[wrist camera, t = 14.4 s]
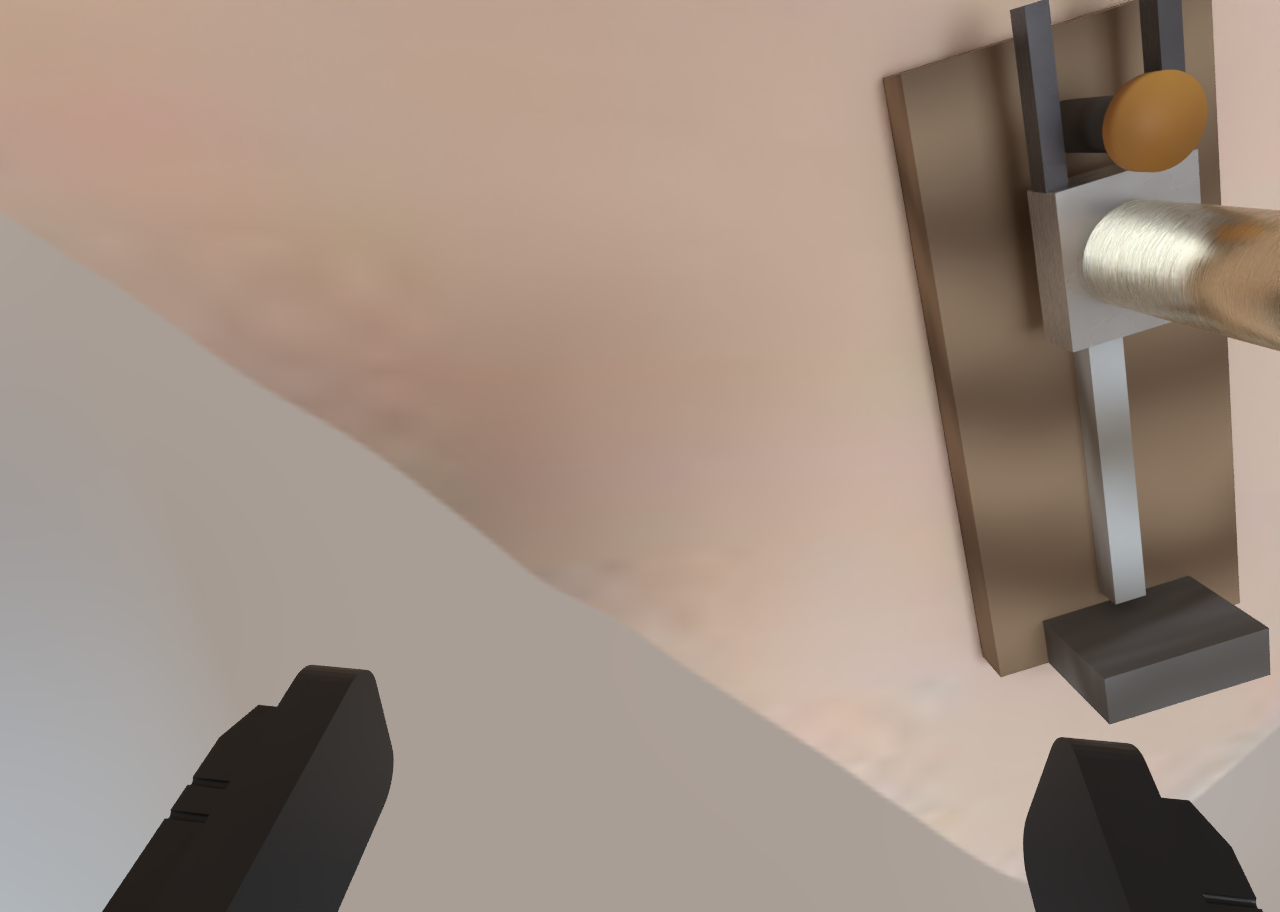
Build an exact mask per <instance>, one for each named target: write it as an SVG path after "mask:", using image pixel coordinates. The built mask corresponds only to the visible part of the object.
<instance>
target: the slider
mask: <svg viewBox="0 0 1280 912" xmlns="http://www.w3.org/2000/svg"><path fill="white" fill-rule="evenodd" d="M1139 10H1140V24H1141V37H1142V51H1143V64H1144V73H1148V72H1154V71H1161V70H1179V71H1183V72H1185V73H1186V69H1185V52H1184V35H1183V17H1182V0H1139ZM1010 14H1011V23H1012V31H1013V39H1014V47H1015V55H1016V64H1017V72H1018V80H1019V88H1020V97H1021V105H1022V113H1023V121H1024V129H1025V138H1026V146H1027V154H1028V162H1029V170H1030V179H1031V187H1032V189H1031V190H1028V191H1027V196H1028V204H1029V212H1030V220H1031V228H1032V236H1033V244H1034V252H1035V260H1036V268H1037V277H1038V285H1039V293H1040V301H1041V309H1042V317H1043V325H1044V333H1045V341H1046V342H1047V343H1050V344H1052V345H1055V346H1057V347H1060V348H1063V349H1065V350H1068V351H1071V352H1076V351H1080V350H1083V349H1086V348H1089V347H1092V346H1096V345H1099V344H1102V343H1105V342H1109V341H1112V340H1115V339H1118V338H1121V337H1125V336H1128V335H1131V334H1134V333H1138V332H1141V331H1144V330H1147V329H1150V328H1154V327H1157V326H1160V325H1163V324H1167V323H1170V322H1175V323H1179V324H1182V325H1186V326H1189V327H1193V328H1197V329H1200V330H1204V331H1208V332H1211V333H1215V334H1219V335H1222V336H1226V337H1230V338H1233V339H1237V340H1241V341H1244V342H1248V343H1251V344H1255V345H1259V346H1262V347H1266V348H1270V349H1273V350H1277V351H1280V210H1269V209H1257V208H1245V207H1232V206H1220V205H1208V204H1201V196H1200V178H1199V159H1198V149H1194V150H1193V151H1192V152H1191V154H1190V155H1189V156H1188V157H1187V158H1186V159H1184V160H1183V161H1182V162H1181V163H1179V164H1178V165H1176V166H1174V167H1172V168H1170V169H1168V170H1165V171H1161V172H1133V171H1128V170H1125V169H1123V168H1121V167H1119V166H1118V165H1117V164H1112V165H1109V166H1105V167H1102V168H1099V169H1096V170H1093V171H1089V172H1086V173H1083V174H1080V175H1076V176H1073V177H1070V178H1068V176H1067V167H1066V157H1065V148H1064V139H1063V129H1062V120H1061V111H1060V101H1059V92H1058V83H1057V73H1056V64H1055V55H1054V45H1053V36H1052V27H1051V17H1050V8H1049V0H1042V1H1038V2H1035V3H1032V4H1029V5H1025V6H1022V7H1019V8H1016V9H1013V10H1010Z"/></svg>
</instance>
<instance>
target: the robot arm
mask: <svg viewBox="0 0 1280 912" xmlns="http://www.w3.org/2000/svg"><path fill="white" fill-rule="evenodd" d="M392 773H393V750H392V745H391V741H390V737H389V733H388V729H387V725H386V721H385V717H384V713H383V709H382V704H381V700H380V697H379V692H378V688H377V684H376V680H375V677H374V675H373V674H372V673H371V672H370V671H368V670H361V669H350V668H340V667H329V666H318V665H309V666H306V667H305V668H303V669H302V670H301V671H300V672H299V673H298V675H297V676H296V678H295V679H294V681H293V682H292V684H291V685H290V687H289V689H288V690H287V692H286V693H285V695H284V697H283V698H282V700H281V702H280V703H279V705H278V706H277V707H273V706H264V705H258V706H257V707H255V709H253V710H252V711H251V712H249V713H248V714H247V715H246V716H245V717H243V718H242V719H241V720H240V721H239V722H237V723H236V724H235V725H234V726H233V727H231V728H230V729H229V730H228V731H227V732H225V733H224V734H223V735H222V736H221V737H219V739H218V740H217V742H216V744H215V745H214V746H213V748H212V749H211V751H210V752H209V754H208V755H207V757H206V758H205V760H204V761H203V763H202V764H201V766H200V767H199V769H198V770H197V772H196V773H195V775H194V776H193V782H192V784H191V785H187V786H186V788H185V790H184V791H183V792H182V794H181V795H180V797H179V798H178V800H177V801H176V803H175V804H174V806H173V807H172V809H171V815H170V817H169V818H168V819H164V821H163V822H162V824H161V825H160V827H159V828H158V830H157V831H156V833H155V834H154V836H153V837H152V838H151V840H150V842H149V843H148V844H147V846H146V847H145V849H144V850H143V852H142V853H141V855H140V856H139V858H138V859H137V861H136V862H135V864H134V865H133V867H132V868H131V870H130V872H129V873H128V874H127V876H126V877H125V879H124V880H123V882H122V883H121V885H120V886H119V888H118V889H117V891H116V892H115V894H114V895H113V897H112V898H111V899H110V901H109V902H108V904H107V906H106V907H105V909H104V910H103V911H102V912H338V910H339V907H340V905H341V903H342V900H343V898H344V896H345V893H346V891H347V889H348V887H349V884H350V882H351V880H352V878H353V875H354V873H355V871H356V869H357V866H358V864H359V862H360V859H361V857H362V855H363V853H364V850H365V848H366V846H367V843H368V841H369V839H370V837H371V834H372V832H373V829H374V827H375V825H376V823H377V821H378V818H379V816H380V814H381V811H382V809H383V807H384V804H385V802H386V799H387V796H388V793H389V789H390V785H391V780H392ZM1023 852H1024V864H1025V870H1026V876H1027V880H1028V884H1029V888H1030V891H1031V895H1032V899H1033V903H1034V907H1035V910H1036V912H1263V911H1262V909H1258V908H1257V906H1256V897H1255V895H1254V893H1253V891H1252V888H1251V887H1250V884H1249V882H1248V880H1247V878H1246V876H1245V874H1244V872H1243V870H1242V868H1241V866H1240V864H1239V862H1238V860H1237V857H1236V855H1235V853H1234V851H1233V849H1232V847H1231V846H1230V845H1229V844H1228V843H1227V841H1226V840H1225V839H1224V838H1223V837H1222V836H1221V835H1220V834H1219V833H1218V832H1217V831H1216V829H1215V828H1214V827H1213V826H1212V825H1211V824H1210V823H1209V822H1208V821H1207V820H1206V819H1205V817H1204V816H1203V815H1202V814H1201V813H1200V812H1199V811H1198V810H1197V809H1196V808H1195V806H1194V805H1193V804H1192V803H1191V802H1190V801H1188V800H1178V799H1168V798H1161V796H1160V794H1159V792H1158V789H1157V787H1156V785H1155V782H1154V780H1153V778H1152V775H1151V773H1150V771H1149V768H1148V766H1147V764H1146V762H1145V760H1144V758H1143V756H1142V754H1141V753H1140V751H1139V750H1138V749H1137V748H1136V747H1135V746H1134V745H1132V744H1128V743H1118V742H1107V741H1096V740H1086V739H1075V738H1064V737H1060V738H1058V739H1056V740H1055V742H1054V743H1053V745H1052V748H1051V750H1050V753H1049V756H1048V759H1047V761H1046V764H1045V767H1044V770H1043V773H1042V775H1041V778H1040V781H1039V784H1038V787H1037V789H1036V792H1035V795H1034V798H1033V801H1032V803H1031V806H1030V809H1029V812H1028V815H1027V818H1026V821H1025V827H1024V836H1023Z"/></svg>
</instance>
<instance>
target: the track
mask: <svg viewBox="0 0 1280 912" xmlns="http://www.w3.org/2000/svg"><path fill="white" fill-rule="evenodd" d="M1182 17H1183V35H1184V52H1185V69H1186V73H1185V72H1183V71H1179V70H1161V71H1154V72H1148V73H1144V64H1143V51H1142V37H1141V24H1140V10H1139V0H1133V1H1130V2H1127V3H1124V4H1120V5H1117V6H1114V7H1111V8H1107V9H1104V10H1101V11H1098V12H1095V13H1091V14H1088V15H1085V16H1082V17H1078V18H1075V19H1072V20H1069V21H1066V22H1062V23H1059V24H1056V25H1053V26H1051V27H1052V36H1053V45H1054V55H1055V64H1056V73H1057V83H1058V92H1059V101H1060V111H1061V120H1062V129H1063V139H1064V148H1065V157H1066V167H1067V176H1068V178H1070V177H1073V176H1076V175H1080V174H1083V173H1086V172H1089V171H1093V170H1096V169H1099V168H1102V167H1105V166H1109V165H1112V164H1117V165H1118V166H1119V167H1121V168H1123V169H1125V170H1128V171H1133V172H1161V171H1165V170H1168V169H1170V168H1172V167H1174V166H1176V165H1178V164H1179V163H1181V162H1182V161H1183V160H1184V159H1186V158H1187V157H1188V156H1189V155H1190V154H1191V152H1192V151H1193V150H1194V149H1198V159H1199V178H1200V196H1201V204H1208V205H1220V206H1221V192H1220V170H1219V149H1218V128H1217V106H1216V85H1215V64H1214V42H1213V21H1212V0H1182ZM883 81H884V87H885V93H886V98H887V104H888V110H889V116H890V122H891V127H892V133H893V139H894V145H895V150H896V156H897V162H898V168H899V174H900V179H901V185H902V191H903V197H904V202H905V208H906V214H907V220H908V226H909V231H910V237H911V243H912V249H913V254H914V260H915V266H916V272H917V277H918V283H919V289H920V295H921V301H922V306H923V312H924V318H925V324H926V329H927V335H928V341H929V347H930V353H931V358H932V364H933V370H934V376H935V381H936V387H937V393H938V399H939V404H940V410H941V416H942V422H943V428H944V433H945V439H946V445H947V451H948V456H949V462H950V468H951V474H952V480H953V485H954V491H955V497H956V503H957V508H958V514H959V520H960V526H961V532H962V537H963V543H964V549H965V555H966V560H967V566H968V572H969V578H970V583H971V589H972V595H973V601H974V607H975V612H976V618H977V624H978V630H979V635H980V641H981V647H982V653H983V657H984V658H985V659H986V660H987V662H988V663H989V664H990V665H991V666H992V667H993V669H994V670H995V671H996V672H997V673H998V674H999V676H1000V677H1003V676H1006V675H1009V674H1013V673H1016V672H1019V671H1022V670H1026V669H1029V668H1032V667H1035V666H1039V665H1042V664H1045V663H1048V662H1049V663H1050V664H1051V665H1052V666H1053V667H1054V668H1055V669H1056V670H1057V671H1058V672H1059V673H1060V674H1061V675H1062V676H1063V677H1064V678H1065V679H1066V680H1067V681H1068V683H1069V684H1070V685H1071V686H1072V687H1073V688H1074V689H1075V690H1076V691H1077V692H1078V693H1079V694H1080V695H1081V696H1082V697H1083V698H1084V699H1085V700H1086V701H1087V702H1088V703H1089V704H1090V705H1091V706H1092V707H1093V708H1094V709H1095V710H1096V711H1097V712H1098V713H1099V714H1100V715H1101V716H1102V717H1103V718H1104V719H1105V720H1106V721H1107V722H1108V723H1109V724H1112V723H1116V722H1119V721H1122V720H1125V719H1129V718H1132V717H1135V716H1138V715H1141V714H1145V713H1148V712H1151V711H1154V710H1158V709H1161V708H1164V707H1167V706H1171V705H1174V704H1177V703H1180V702H1183V701H1187V700H1190V699H1193V698H1196V697H1200V696H1203V695H1206V694H1209V693H1212V692H1216V691H1219V690H1222V689H1225V688H1229V687H1232V686H1235V685H1238V684H1241V683H1245V682H1248V681H1251V680H1254V679H1258V678H1261V677H1264V676H1267V675H1270V650H1269V628H1268V627H1266V626H1265V625H1263V624H1262V623H1260V622H1259V621H1257V620H1256V619H1254V618H1253V617H1251V616H1250V615H1248V614H1247V613H1245V612H1244V611H1242V610H1241V609H1239V608H1238V607H1236V606H1234V605H1235V604H1238V603H1240V597H1239V576H1238V555H1237V533H1236V512H1235V491H1234V469H1233V448H1232V427H1231V405H1230V384H1229V362H1228V341H1227V337H1226V336H1222V335H1219V334H1215V333H1211V332H1208V331H1204V330H1200V329H1197V328H1193V327H1189V326H1186V325H1182V324H1179V323H1175V322H1170V323H1167V324H1163V325H1160V326H1157V327H1154V328H1150V329H1147V330H1144V331H1141V332H1138V333H1134V334H1131V335H1128V336H1125V337H1121V338H1118V339H1115V340H1112V341H1109V342H1105V343H1102V344H1099V345H1096V346H1092V347H1089V348H1086V349H1083V350H1080V351H1076V352H1071V351H1068V350H1065V349H1063V348H1060V347H1057V346H1055V345H1052V344H1050V343H1047V342H1046V341H1045V333H1044V325H1043V317H1042V309H1041V301H1040V293H1039V285H1038V277H1037V268H1036V260H1035V252H1034V244H1033V236H1032V228H1031V220H1030V212H1029V204H1028V196H1027V191H1028V190H1031V189H1032V187H1031V179H1030V170H1029V162H1028V154H1027V146H1026V138H1025V129H1024V121H1023V113H1022V105H1021V97H1020V88H1019V80H1018V72H1017V64H1016V55H1015V47H1014V39H1013V38H1011V39H1008V40H1004V41H1001V42H998V43H995V44H991V45H988V46H985V47H982V48H979V49H975V50H972V51H969V52H966V53H962V54H959V55H956V56H953V57H949V58H946V59H943V60H940V61H937V62H933V63H930V64H927V65H924V66H920V67H917V68H914V69H911V70H908V71H904V72H901V73H898V74H895V75H891V76H888V77H885V78H883Z"/></svg>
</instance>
